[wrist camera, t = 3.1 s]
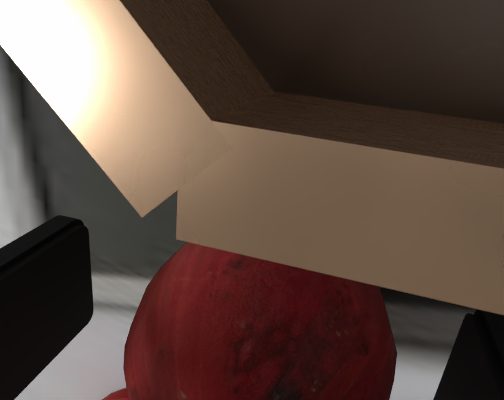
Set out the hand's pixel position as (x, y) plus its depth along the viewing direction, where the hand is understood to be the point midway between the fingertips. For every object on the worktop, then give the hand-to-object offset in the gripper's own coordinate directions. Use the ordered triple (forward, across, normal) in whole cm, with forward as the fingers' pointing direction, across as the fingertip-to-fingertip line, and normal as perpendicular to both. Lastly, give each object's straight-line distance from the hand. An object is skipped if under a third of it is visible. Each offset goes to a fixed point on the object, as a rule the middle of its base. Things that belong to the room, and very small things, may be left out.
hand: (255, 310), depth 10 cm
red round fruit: (+3, 0, 0) cm, 3 cm away
